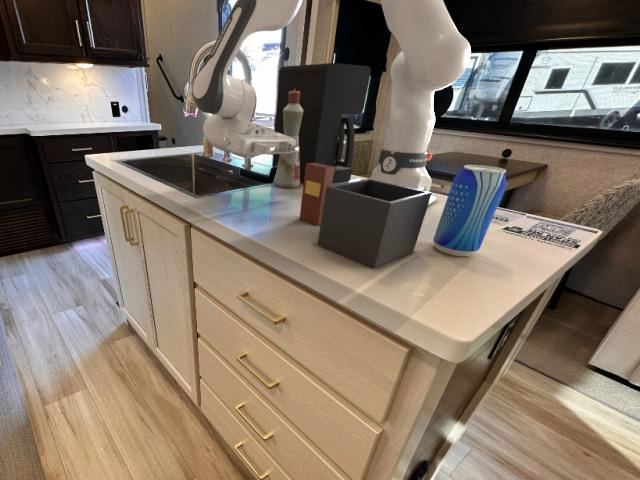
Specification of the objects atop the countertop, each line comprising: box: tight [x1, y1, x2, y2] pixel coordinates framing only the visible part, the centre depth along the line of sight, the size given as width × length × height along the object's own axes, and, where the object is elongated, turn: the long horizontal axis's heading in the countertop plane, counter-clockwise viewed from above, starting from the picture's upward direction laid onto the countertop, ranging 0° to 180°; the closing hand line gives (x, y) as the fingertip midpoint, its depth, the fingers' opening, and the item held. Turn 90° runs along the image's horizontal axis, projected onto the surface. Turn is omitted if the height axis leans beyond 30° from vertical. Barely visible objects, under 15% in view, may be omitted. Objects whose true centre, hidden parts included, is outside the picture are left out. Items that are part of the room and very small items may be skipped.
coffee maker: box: [271, 62, 371, 184], centre depth 118 cm, size 28×20×35 cm
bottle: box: [273, 89, 303, 189], centre depth 108 cm, size 9×9×28 cm
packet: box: [299, 163, 335, 226], centre depth 80 cm, size 3×6×13 cm, turn 37°
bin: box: [317, 178, 433, 269], centre depth 66 cm, size 14×14×12 cm
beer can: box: [432, 164, 508, 257], centre depth 66 cm, size 8×8×16 cm
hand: (284, 150), depth 83 cm, fingers open, 8 cm apart
